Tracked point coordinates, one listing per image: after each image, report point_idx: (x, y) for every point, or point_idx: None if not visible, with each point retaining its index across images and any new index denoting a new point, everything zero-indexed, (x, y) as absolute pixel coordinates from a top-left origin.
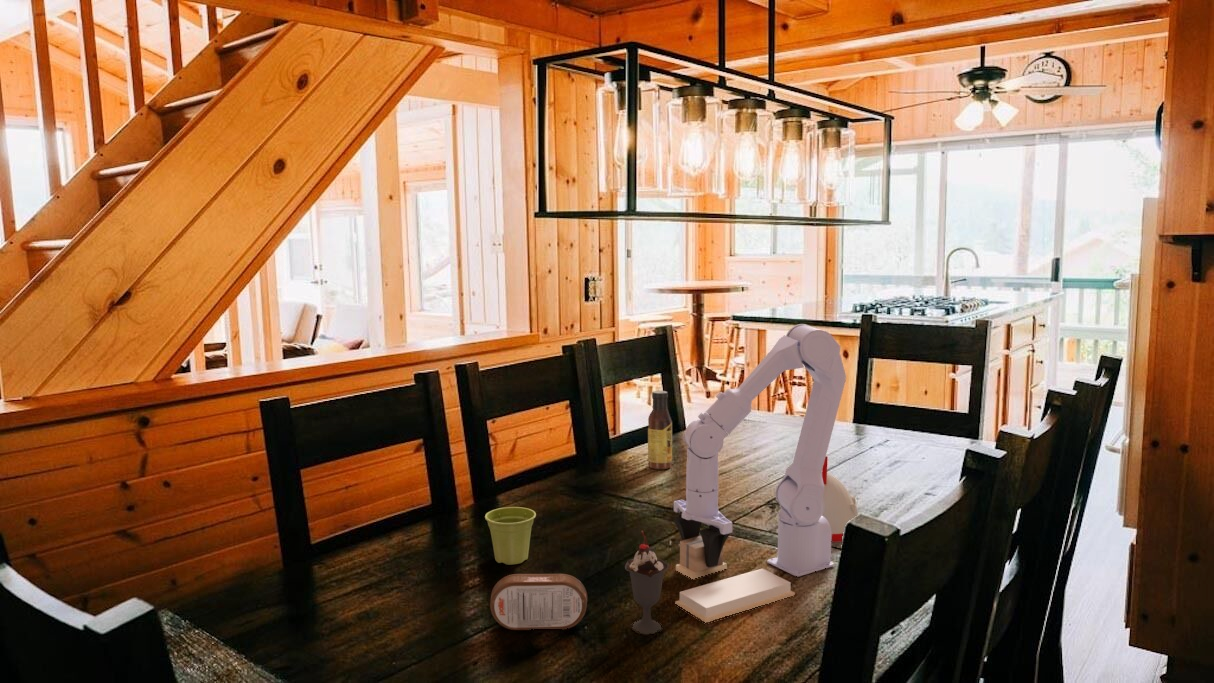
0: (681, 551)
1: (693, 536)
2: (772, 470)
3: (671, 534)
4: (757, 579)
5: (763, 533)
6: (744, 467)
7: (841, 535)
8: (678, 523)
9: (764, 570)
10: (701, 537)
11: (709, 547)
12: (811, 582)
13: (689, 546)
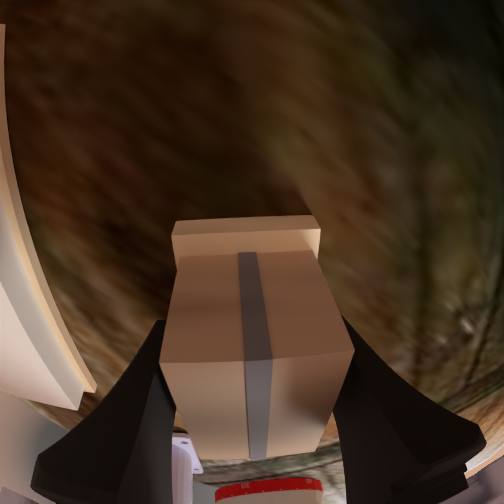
0: (318, 300)
1: (347, 414)
2: None
3: (481, 346)
4: (4, 359)
5: (323, 461)
6: None
7: (216, 498)
8: (435, 447)
9: (62, 405)
10: (299, 433)
11: (95, 408)
12: (66, 420)
13: (237, 356)
